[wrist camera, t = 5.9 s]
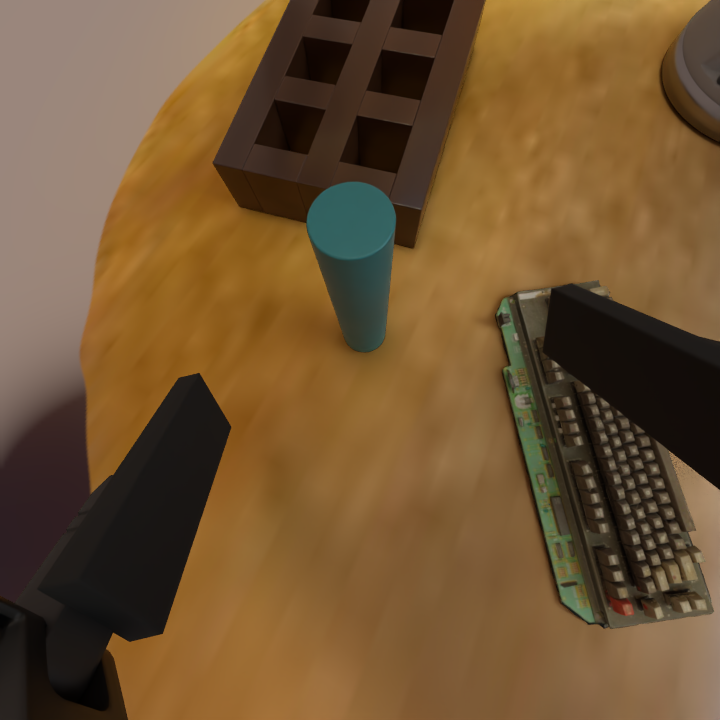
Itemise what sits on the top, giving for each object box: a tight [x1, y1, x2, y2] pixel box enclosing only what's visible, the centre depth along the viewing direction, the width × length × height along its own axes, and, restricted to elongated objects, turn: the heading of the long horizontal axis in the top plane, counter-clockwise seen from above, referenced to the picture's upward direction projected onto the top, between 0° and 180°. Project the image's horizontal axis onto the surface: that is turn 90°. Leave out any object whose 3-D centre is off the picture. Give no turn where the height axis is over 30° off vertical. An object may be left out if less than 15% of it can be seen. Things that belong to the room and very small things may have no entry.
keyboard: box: [495, 280, 714, 629], centre depth 20 cm, size 22×9×2 cm, turn 8°
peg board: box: [213, 0, 486, 248], centre depth 26 cm, size 16×22×4 cm
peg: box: [307, 182, 396, 352], centre depth 17 cm, size 3×3×13 cm
